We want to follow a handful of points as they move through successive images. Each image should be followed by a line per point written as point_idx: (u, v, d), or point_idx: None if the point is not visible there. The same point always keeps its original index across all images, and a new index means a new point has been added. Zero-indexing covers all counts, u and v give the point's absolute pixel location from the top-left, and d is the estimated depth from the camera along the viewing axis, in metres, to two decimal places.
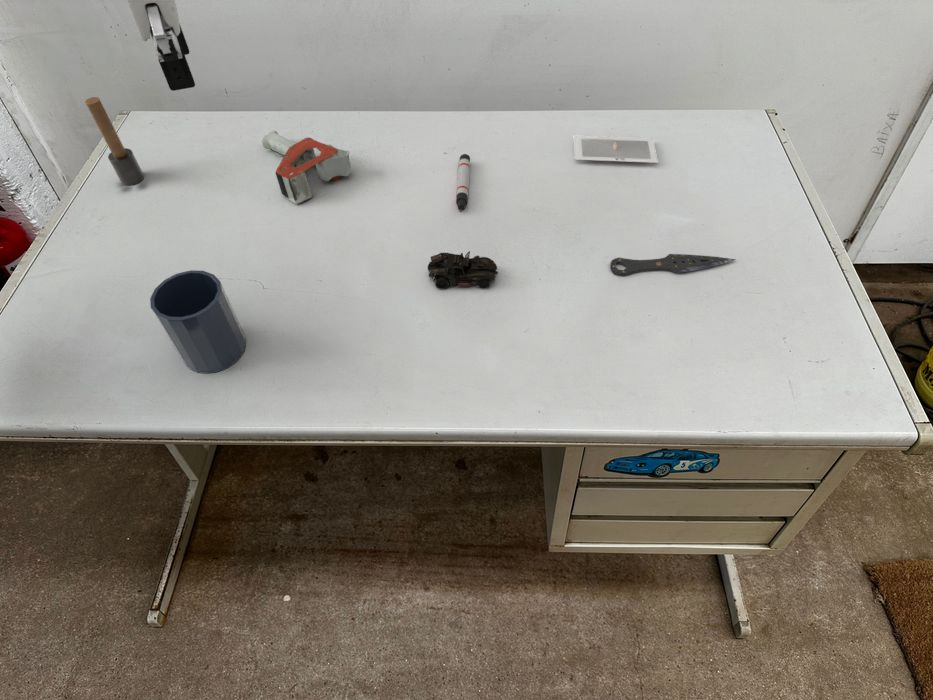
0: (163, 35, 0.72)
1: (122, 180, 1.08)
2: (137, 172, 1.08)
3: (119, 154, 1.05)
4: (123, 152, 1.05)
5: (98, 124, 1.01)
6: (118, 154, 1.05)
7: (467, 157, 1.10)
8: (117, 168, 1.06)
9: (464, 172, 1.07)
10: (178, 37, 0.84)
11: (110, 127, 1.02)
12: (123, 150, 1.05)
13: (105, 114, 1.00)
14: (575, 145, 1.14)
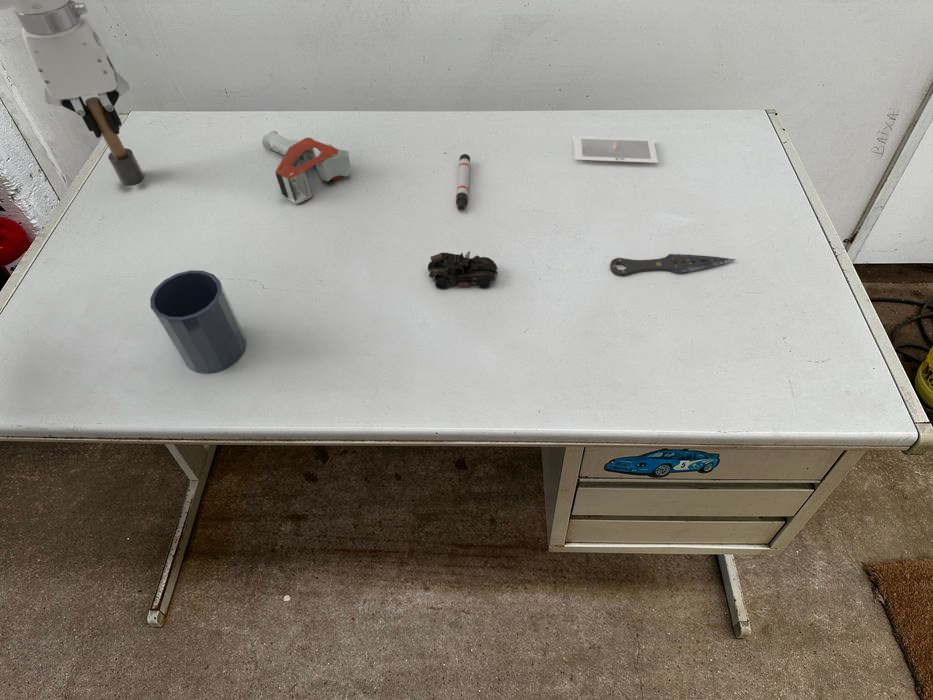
0: (46, 101, 0.96)
1: (122, 180, 1.08)
2: (137, 172, 1.08)
3: (119, 154, 1.05)
4: (123, 152, 1.05)
5: (98, 124, 1.01)
6: (118, 154, 1.05)
7: (467, 157, 1.10)
8: (117, 168, 1.06)
9: (464, 172, 1.07)
10: (108, 119, 1.00)
11: (110, 127, 1.02)
12: (123, 150, 1.05)
13: None
14: (575, 145, 1.14)
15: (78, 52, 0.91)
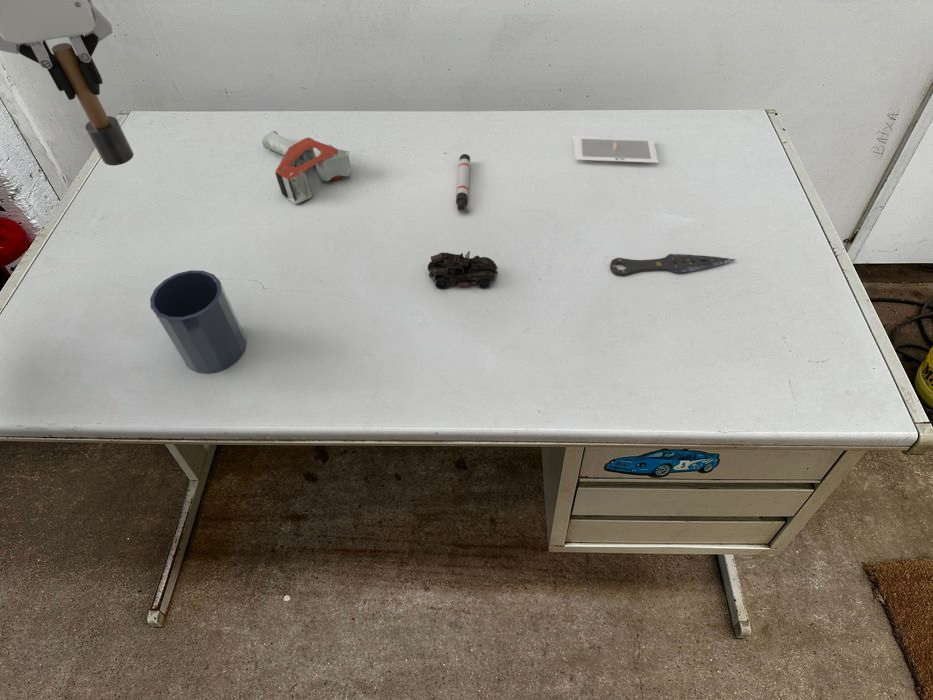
0: None
1: (105, 159, 0.82)
2: (125, 147, 0.82)
3: (100, 123, 0.79)
4: (105, 120, 0.79)
5: (70, 81, 0.74)
6: (99, 123, 0.79)
7: (467, 157, 1.10)
8: (97, 142, 0.80)
9: (464, 172, 1.07)
10: None
11: (87, 85, 0.76)
12: (105, 118, 0.79)
13: None
14: (575, 145, 1.14)
15: None
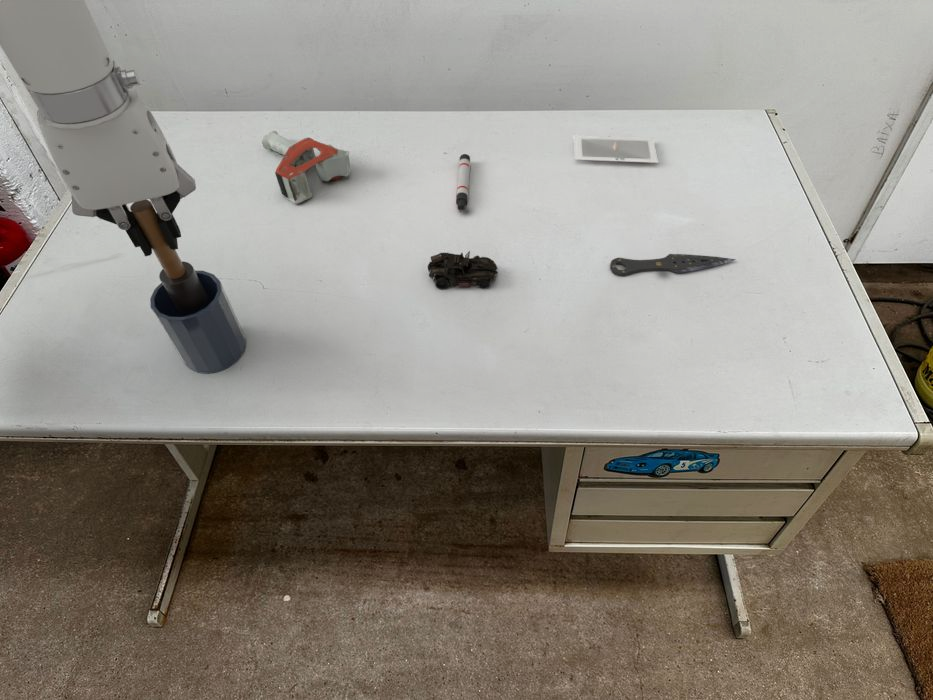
0: (73, 212, 0.63)
1: (178, 306, 0.76)
2: (200, 294, 0.76)
3: (176, 274, 0.72)
4: (181, 270, 0.73)
5: (148, 237, 0.68)
6: (174, 274, 0.72)
7: (467, 157, 1.10)
8: (172, 292, 0.74)
9: (464, 172, 1.07)
10: None
11: (165, 240, 0.69)
12: (181, 268, 0.73)
13: None
14: (575, 145, 1.14)
15: (125, 145, 0.58)
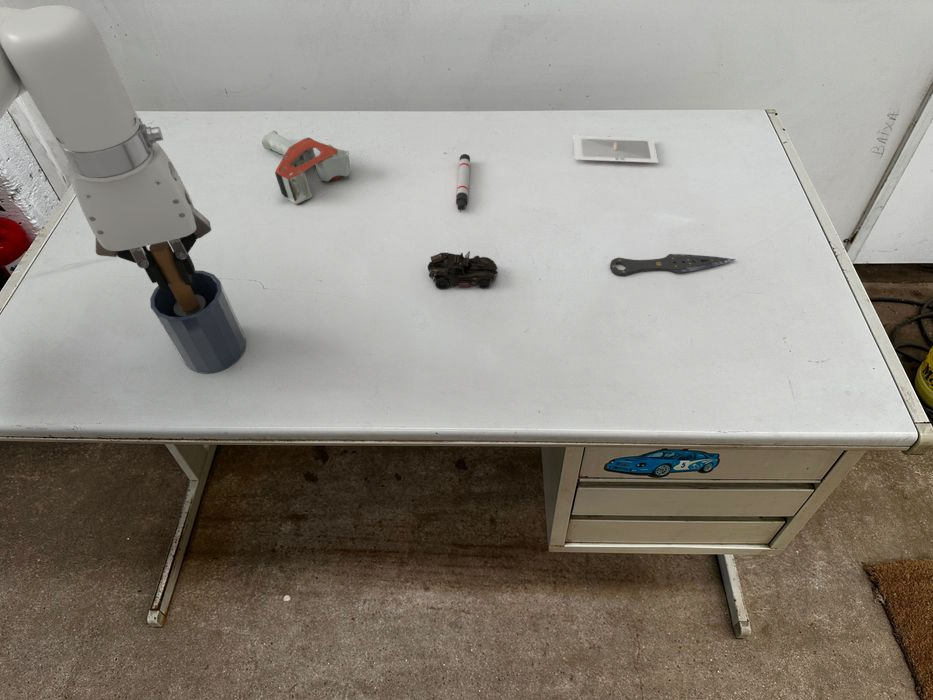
0: None
1: None
2: None
3: (189, 307, 0.77)
4: (194, 303, 0.77)
5: (165, 274, 0.72)
6: (188, 307, 0.77)
7: (467, 157, 1.10)
8: None
9: (464, 172, 1.07)
10: None
11: (180, 276, 0.73)
12: (194, 301, 0.77)
13: None
14: (575, 145, 1.14)
15: (147, 194, 0.63)
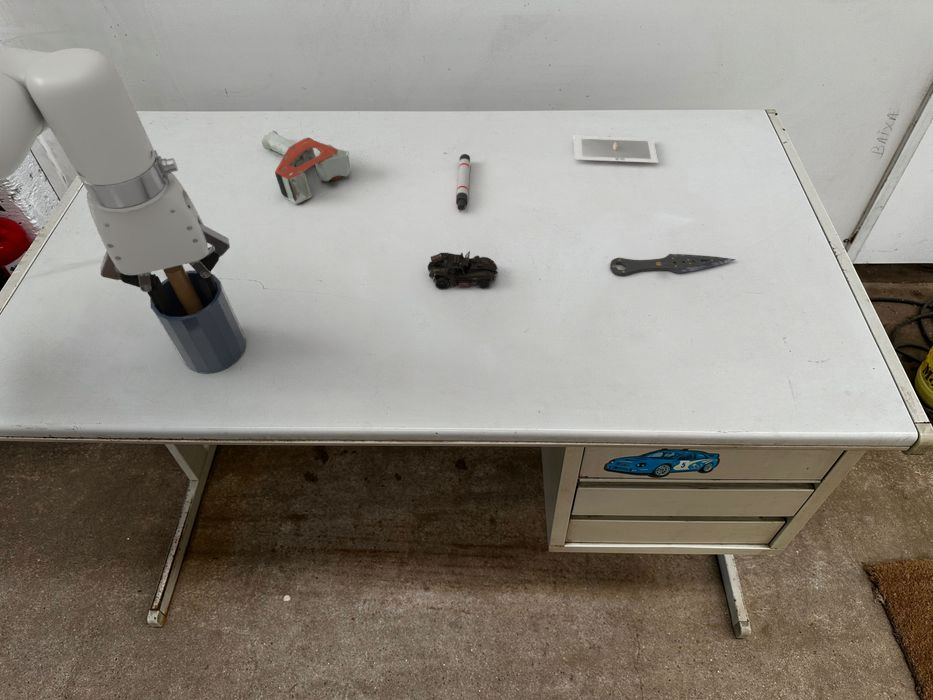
0: (101, 274, 0.70)
1: None
2: None
3: None
4: None
5: (178, 294, 0.75)
6: None
7: (467, 157, 1.10)
8: None
9: (464, 172, 1.07)
10: None
11: (193, 296, 0.76)
12: None
13: (188, 282, 0.75)
14: (575, 145, 1.14)
15: (163, 221, 0.66)
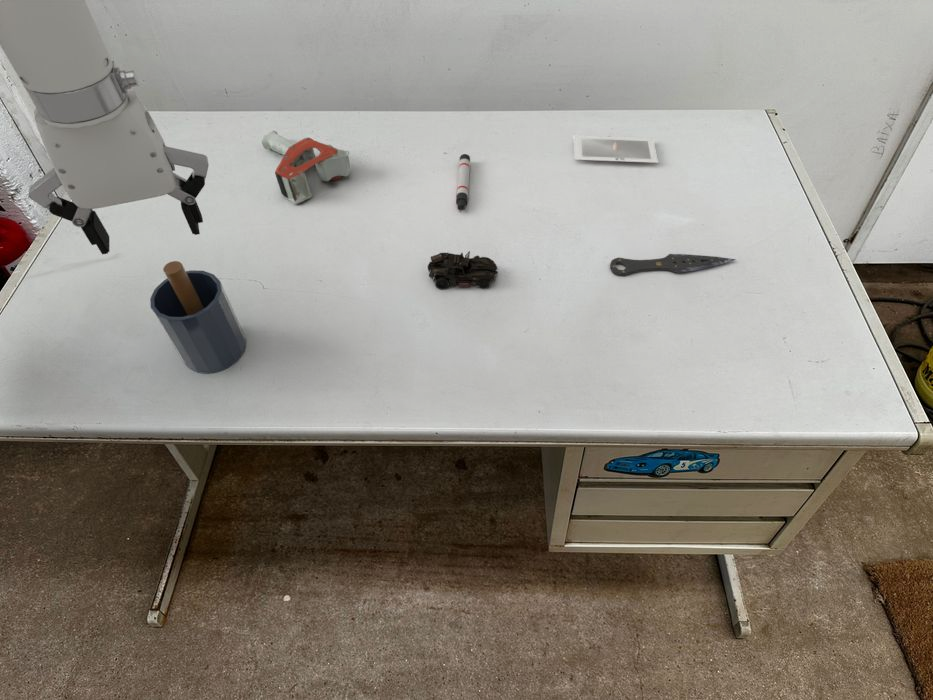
0: None
1: None
2: None
3: None
4: None
5: (178, 294, 0.75)
6: None
7: (467, 157, 1.10)
8: None
9: (464, 172, 1.07)
10: None
11: (193, 296, 0.76)
12: None
13: (188, 282, 0.75)
14: (575, 145, 1.14)
15: (122, 145, 0.58)
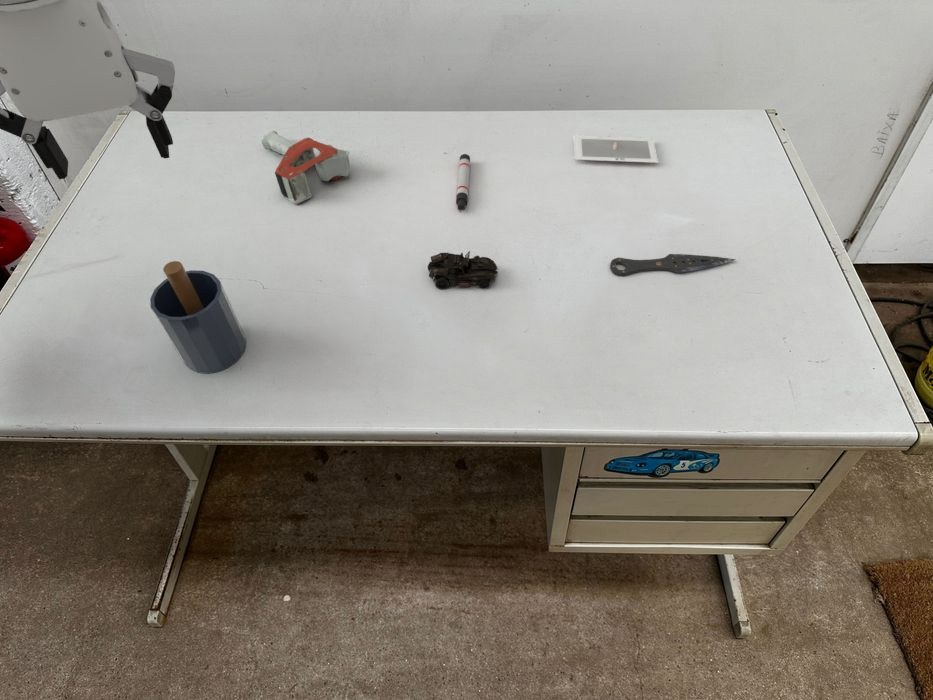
0: None
1: None
2: None
3: None
4: None
5: (178, 294, 0.75)
6: None
7: (467, 157, 1.10)
8: None
9: (464, 172, 1.07)
10: None
11: (193, 296, 0.76)
12: None
13: (188, 282, 0.75)
14: (575, 145, 1.14)
15: (71, 39, 0.51)
